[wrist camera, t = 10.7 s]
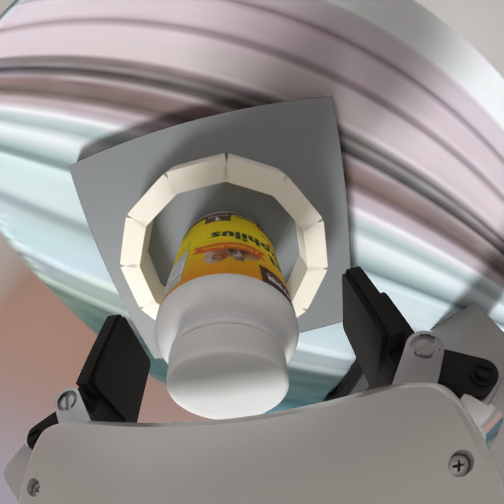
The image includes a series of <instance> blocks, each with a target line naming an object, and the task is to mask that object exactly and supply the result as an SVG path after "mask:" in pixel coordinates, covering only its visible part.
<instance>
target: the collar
mask: <svg viewBox="0 0 504 504" xmlns="http://www.w3.org/2000/svg"><path fill="white" fill-rule="evenodd" d="M69 169H70V172H71V175H72V178H73V182H74V185H75V188H76V191H77V194H78V197H79V200H80V203H81V206H82V208H83V211H84V214H85V217H86V219H87V222H88V225H89V227H90V230H91V232H92V235H93V237H94V240H95V242H96V245H97V247H98V249H99V252H100V254H101V256H102V259H103V261H104V263H105V265H106V268H107V270H108V272H109V274H110V276H111V279H112V281H113V283H114V285H115V287H116V289H117V291H118V293H119V295H120V297H121V299H122V301H123V303H124V305H125V307H126V309H127V311H128V313H129V314H130V316H131V318H132V320H133V322H134V324H135V325H136V327H137V329H138V331H139V333H140V334H141V336H142V338H143V340H144V341H145V343H146V345H147V346H148V348H149V350H150V351H151V353H152V355H153V356H154V358H155V359H157V358H163V357H162V355H161V353H160V351H159V350H158V347H157V344H156V340H155V332H154V329H155V321H156V316H157V312H158V309H159V306H160V303H161V300H162V297H163V294H164V291H165V288H166V285H167V282H168V279H169V276H170V273H171V270H172V267H173V264H174V262H175V259H176V256H177V253H178V250H179V248H180V245H181V242H182V240H183V238H184V236H185V234H186V232H187V231H188V230H189V228H190V227H191V226H192V225H193V224H194V223H195V222H197V221H198V220H199V219H201V218H203V217H205V216H207V215H209V214H212V213H217V212H236V213H240V214H243V215H246V216H248V217H250V218H252V219H254V220H255V221H256V222H258V223H259V224H260V225H261V226H262V227H263V228H264V230H265V231H266V232H267V234H268V236H269V238H270V240H271V242H272V245H273V248H274V251H275V254H276V257H277V260H278V262H279V265H280V268H281V271H282V275H283V278H284V281H285V284H286V287H287V290H288V293H289V296H290V298H291V302H292V304H293V307H294V310H295V314H296V317H297V321H298V326H299V333H301V332H305V331H309V330H313V329H317V328H321V327H325V326H329V325H332V324H336V323H340V322H343V298H342V274H345V273H346V270H347V269H350V245H349V228H348V214H347V201H346V191H345V181H344V172H343V164H342V156H341V148H340V141H339V134H338V128H337V122H336V116H335V110H334V105H333V99H332V96H330V97H319V98H309V99H301V100H293V101H286V102H279V103H273V104H267V105H261V106H255V107H250V108H245V109H240V110H235V111H230V112H226V113H221V114H217V115H213V116H209V117H205V118H201V119H197V120H193V121H190V122H186V123H182V124H179V125H175V126H172V127H169V128H165V129H162V130H159V131H156V132H153V133H150V134H147V135H144V136H141V137H138V138H135V139H132V140H130V141H127V142H124V143H122V144H119V145H116V146H114V147H111V148H109V149H106V150H104V151H101V152H99V153H96V154H94V155H92V156H89V157H87V158H85V159H83V160H80V161H78V162H76V163H74V164H72V165H69Z"/></svg>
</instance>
